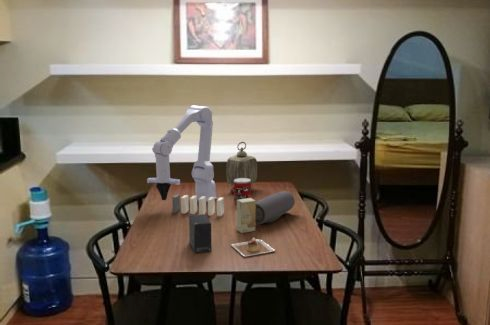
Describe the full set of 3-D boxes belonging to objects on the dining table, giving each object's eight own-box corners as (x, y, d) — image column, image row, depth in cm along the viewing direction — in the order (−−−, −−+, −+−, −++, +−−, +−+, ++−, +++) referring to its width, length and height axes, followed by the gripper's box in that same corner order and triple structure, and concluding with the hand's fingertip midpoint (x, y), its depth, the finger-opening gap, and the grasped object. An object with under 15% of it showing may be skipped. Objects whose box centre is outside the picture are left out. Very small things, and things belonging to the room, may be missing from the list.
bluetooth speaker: (277, 210, 210) (277, 188, 207) (295, 214, 204) (296, 191, 202) (247, 224, 191) (246, 200, 189) (266, 229, 186) (266, 204, 184)
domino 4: (199, 214, 204) (198, 198, 203) (202, 211, 208) (202, 196, 207) (202, 215, 204) (202, 199, 202) (206, 211, 208) (205, 196, 207)
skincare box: (241, 233, 182) (241, 202, 179) (236, 230, 185) (235, 199, 183) (256, 230, 184) (256, 200, 182) (250, 227, 188) (250, 197, 186)
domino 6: (217, 216, 202) (216, 200, 201) (220, 212, 206) (219, 197, 205) (220, 216, 202) (220, 200, 200) (223, 213, 206) (223, 197, 205)
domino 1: (172, 212, 207) (172, 197, 206) (176, 209, 211) (176, 194, 210) (176, 213, 207) (175, 197, 205) (180, 210, 211) (179, 194, 209)
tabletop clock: (243, 186, 249) (243, 139, 244) (258, 189, 244) (258, 140, 238) (226, 193, 237) (225, 143, 232) (241, 196, 232) (241, 144, 227)
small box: (213, 251, 165) (212, 222, 162) (194, 254, 163) (193, 224, 161) (206, 240, 175) (205, 213, 172) (188, 242, 173) (187, 215, 171)
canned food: (231, 204, 218) (231, 181, 216) (238, 200, 225) (237, 177, 223) (247, 206, 215) (246, 182, 213) (253, 201, 222) (253, 178, 220)
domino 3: (190, 214, 205) (189, 198, 204) (193, 211, 209) (193, 195, 208) (193, 214, 205) (193, 198, 203) (197, 211, 209) (196, 195, 208)
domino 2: (181, 213, 206) (180, 197, 205) (185, 210, 210) (184, 195, 209) (185, 213, 206) (184, 197, 204) (188, 210, 210) (188, 195, 208)
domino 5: (208, 215, 203) (207, 199, 202) (211, 212, 207) (211, 196, 206) (211, 215, 203) (211, 199, 201) (214, 212, 207) (214, 196, 206)
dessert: (243, 259, 159) (243, 246, 158) (230, 247, 170) (230, 234, 169) (276, 253, 164) (276, 240, 163) (260, 241, 175) (260, 229, 174)
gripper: (143, 170, 204) (144, 201, 207) (175, 172, 201) (176, 203, 204) (150, 166, 211) (151, 196, 214) (181, 168, 208) (182, 198, 210)
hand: (164, 199), depth 209 cm, fingers closed
